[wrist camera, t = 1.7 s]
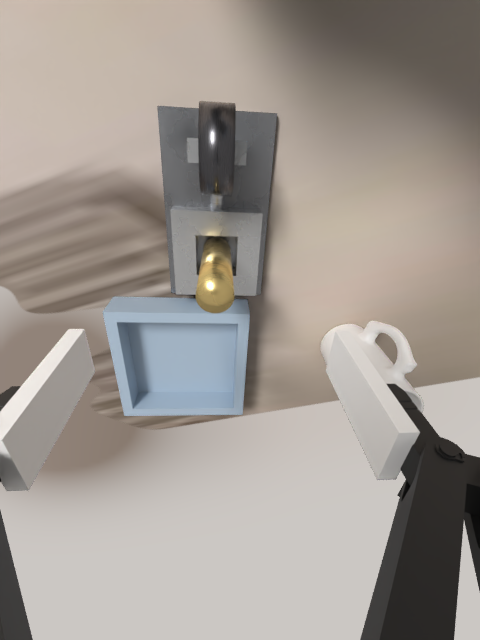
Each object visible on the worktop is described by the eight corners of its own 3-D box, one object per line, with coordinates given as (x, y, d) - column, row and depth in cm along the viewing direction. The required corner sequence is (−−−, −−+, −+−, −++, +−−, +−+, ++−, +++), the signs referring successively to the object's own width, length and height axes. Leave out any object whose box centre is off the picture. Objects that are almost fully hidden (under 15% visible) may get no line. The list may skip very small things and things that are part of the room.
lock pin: (203, 236, 30) (195, 278, 21) (230, 237, 30) (235, 278, 21) (203, 262, 32) (195, 313, 22) (229, 263, 32) (233, 313, 22)
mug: (353, 368, 41) (398, 443, 31) (309, 358, 40) (340, 433, 29) (393, 306, 36) (461, 370, 26) (344, 292, 35) (396, 353, 25)
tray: (113, 296, 34) (102, 312, 30) (247, 299, 35) (249, 314, 32) (131, 395, 41) (124, 415, 38) (240, 394, 42) (242, 414, 39)
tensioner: (158, 106, 25) (133, 90, 18) (275, 114, 26) (297, 101, 18) (172, 290, 34) (158, 331, 26) (259, 292, 34) (270, 332, 27)
